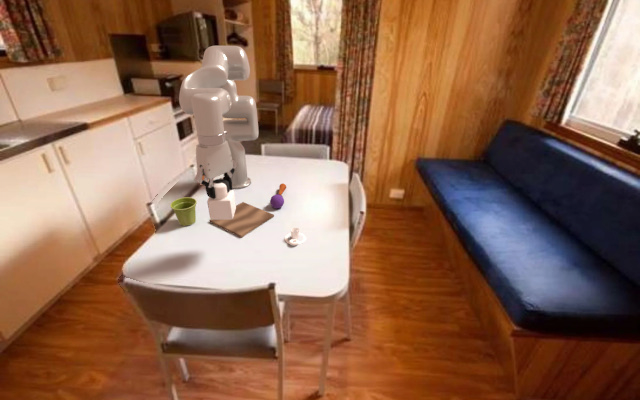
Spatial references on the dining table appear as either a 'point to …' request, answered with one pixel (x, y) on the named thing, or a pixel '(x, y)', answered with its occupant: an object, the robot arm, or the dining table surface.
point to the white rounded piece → (295, 237)
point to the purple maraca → (278, 197)
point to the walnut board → (244, 219)
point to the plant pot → (185, 210)
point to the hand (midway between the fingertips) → (220, 192)
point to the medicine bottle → (222, 201)
